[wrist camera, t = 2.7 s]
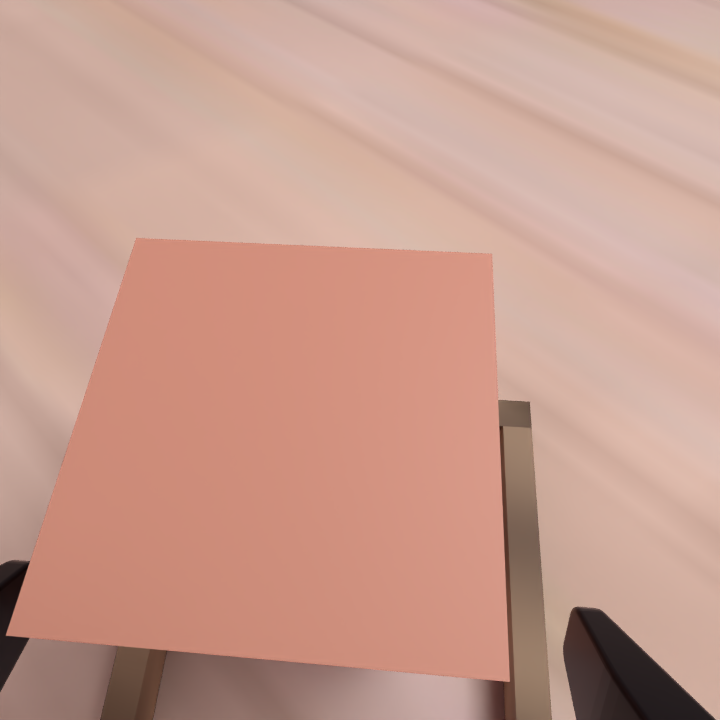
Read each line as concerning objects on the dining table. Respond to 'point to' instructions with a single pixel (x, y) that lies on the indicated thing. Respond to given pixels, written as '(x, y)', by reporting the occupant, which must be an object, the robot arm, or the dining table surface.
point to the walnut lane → (523, 595)
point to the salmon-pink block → (286, 464)
